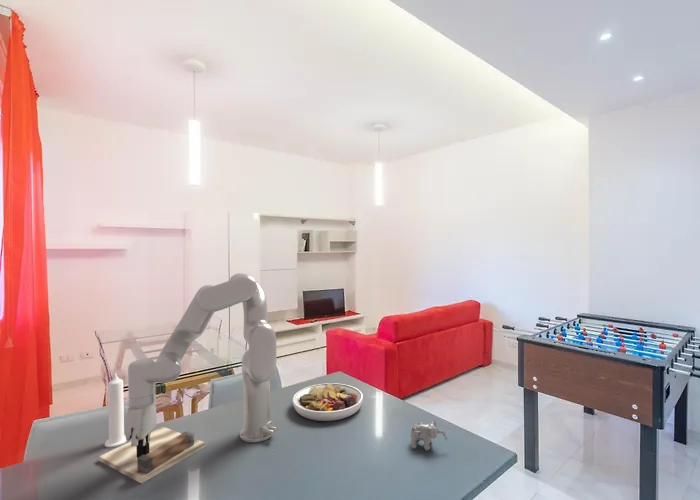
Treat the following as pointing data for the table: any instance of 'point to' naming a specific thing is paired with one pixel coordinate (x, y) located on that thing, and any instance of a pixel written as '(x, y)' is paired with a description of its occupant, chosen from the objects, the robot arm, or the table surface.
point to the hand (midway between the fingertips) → (143, 456)
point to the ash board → (127, 454)
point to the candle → (116, 413)
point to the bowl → (327, 401)
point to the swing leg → (165, 452)
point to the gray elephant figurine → (425, 434)
